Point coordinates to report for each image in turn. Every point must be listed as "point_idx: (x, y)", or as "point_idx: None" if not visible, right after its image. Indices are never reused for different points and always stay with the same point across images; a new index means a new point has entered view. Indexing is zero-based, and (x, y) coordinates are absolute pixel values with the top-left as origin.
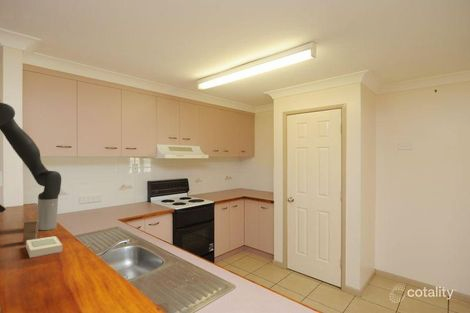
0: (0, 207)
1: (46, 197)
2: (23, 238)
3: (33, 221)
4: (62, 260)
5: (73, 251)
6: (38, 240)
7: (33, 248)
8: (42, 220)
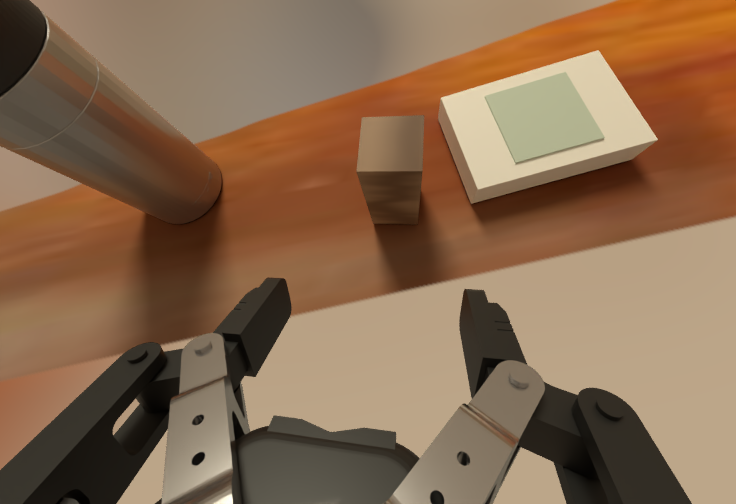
0: (265, 318)
1: (14, 31)
2: (417, 213)
3: (401, 132)
4: (682, 61)
5: (579, 48)
6: (494, 144)
7: (627, 135)
8: (180, 173)
